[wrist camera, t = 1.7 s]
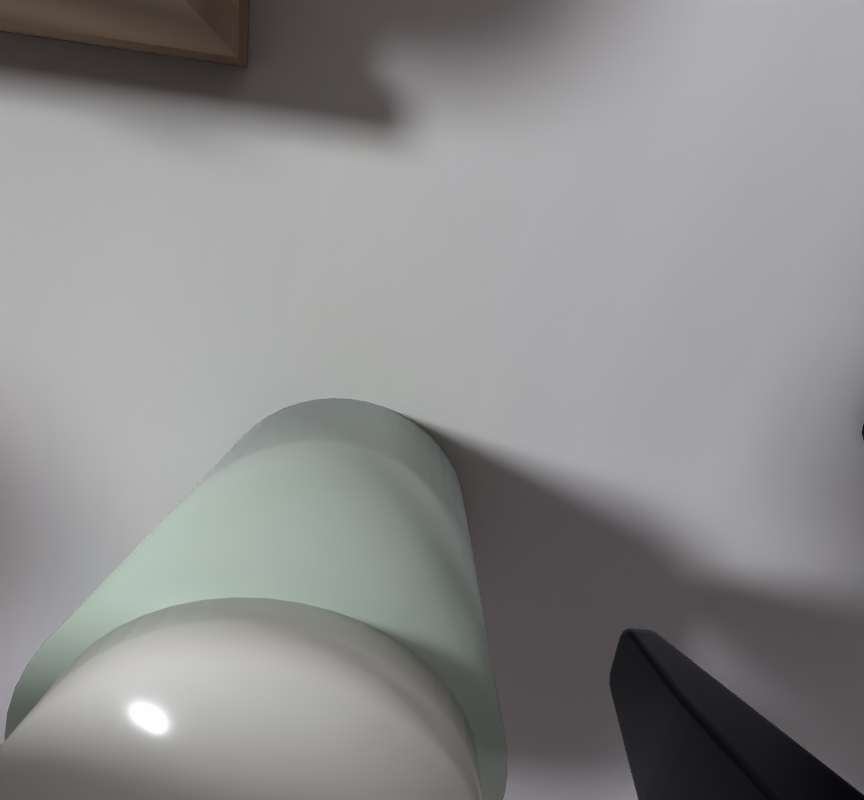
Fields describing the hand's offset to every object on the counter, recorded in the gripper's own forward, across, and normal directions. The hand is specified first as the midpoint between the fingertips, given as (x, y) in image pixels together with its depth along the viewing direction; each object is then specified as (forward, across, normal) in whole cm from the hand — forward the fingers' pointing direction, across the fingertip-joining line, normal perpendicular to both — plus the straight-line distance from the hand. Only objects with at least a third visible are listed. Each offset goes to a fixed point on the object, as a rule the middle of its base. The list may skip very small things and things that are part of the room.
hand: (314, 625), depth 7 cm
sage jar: (+3, 0, 0) cm, 3 cm away
